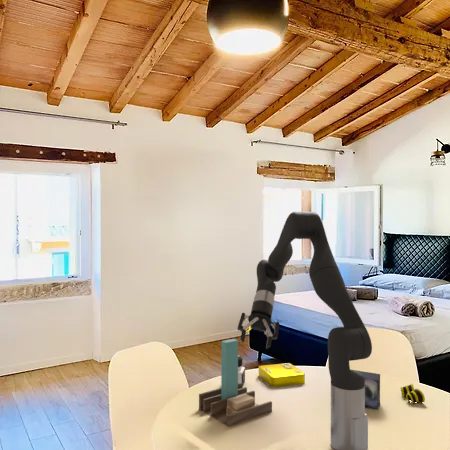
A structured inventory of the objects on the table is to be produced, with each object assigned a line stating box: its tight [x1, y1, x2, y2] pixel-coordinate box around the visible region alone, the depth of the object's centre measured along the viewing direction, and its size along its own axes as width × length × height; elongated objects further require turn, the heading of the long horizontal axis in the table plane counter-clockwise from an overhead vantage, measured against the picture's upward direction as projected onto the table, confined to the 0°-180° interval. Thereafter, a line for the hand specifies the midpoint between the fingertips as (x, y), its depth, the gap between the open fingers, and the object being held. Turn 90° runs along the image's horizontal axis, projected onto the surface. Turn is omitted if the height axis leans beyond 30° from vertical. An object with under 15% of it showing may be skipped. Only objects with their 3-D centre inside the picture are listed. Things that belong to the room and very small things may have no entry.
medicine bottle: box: [238, 355, 246, 386], centre depth 167 cm, size 7×7×12 cm
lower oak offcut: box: [226, 403, 257, 415], centre depth 140 cm, size 5×9×2 cm, turn 128°
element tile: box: [258, 362, 306, 388], centre depth 177 cm, size 15×15×5 cm
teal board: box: [220, 338, 239, 400], centre depth 146 cm, size 2×5×22 cm, turn 128°
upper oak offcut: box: [227, 394, 256, 412], centre depth 140 cm, size 5×8×2 cm, turn 128°
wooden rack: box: [198, 382, 273, 427], centre depth 143 cm, size 16×18×6 cm
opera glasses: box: [400, 382, 426, 404], centre depth 157 cm, size 10×5×5 cm, turn 179°
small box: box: [353, 369, 381, 410], centre depth 153 cm, size 11×6×10 cm, turn 62°
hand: (255, 344), depth 150 cm, fingers open, 8 cm apart
